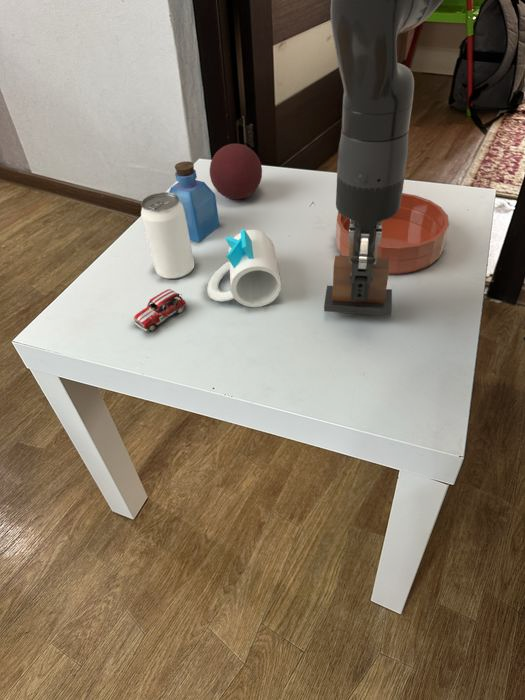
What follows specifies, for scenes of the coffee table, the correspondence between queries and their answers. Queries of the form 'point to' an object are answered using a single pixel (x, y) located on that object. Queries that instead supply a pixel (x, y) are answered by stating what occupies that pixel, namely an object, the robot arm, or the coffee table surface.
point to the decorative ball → (235, 171)
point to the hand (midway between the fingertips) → (359, 291)
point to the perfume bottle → (195, 202)
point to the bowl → (406, 235)
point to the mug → (248, 270)
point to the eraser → (342, 286)
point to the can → (167, 235)
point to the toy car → (159, 309)
